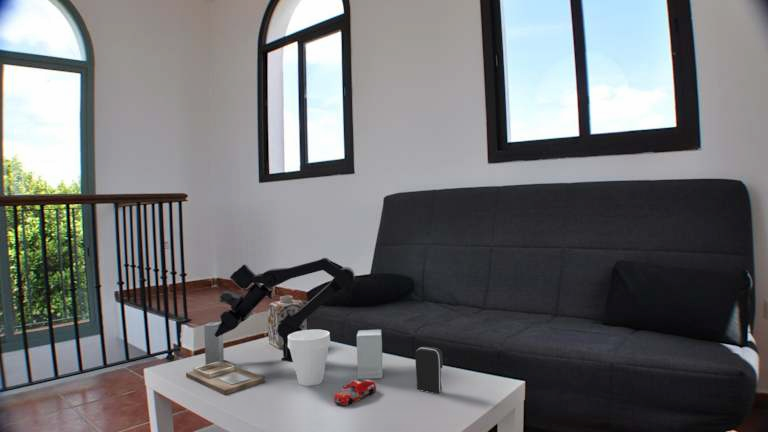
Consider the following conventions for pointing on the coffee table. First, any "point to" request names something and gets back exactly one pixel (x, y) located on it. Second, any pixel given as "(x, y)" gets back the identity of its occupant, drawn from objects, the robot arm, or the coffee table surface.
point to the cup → (309, 354)
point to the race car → (355, 392)
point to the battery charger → (429, 369)
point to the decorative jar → (277, 313)
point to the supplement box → (369, 354)
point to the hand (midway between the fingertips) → (220, 332)
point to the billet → (213, 343)
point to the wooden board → (224, 377)
